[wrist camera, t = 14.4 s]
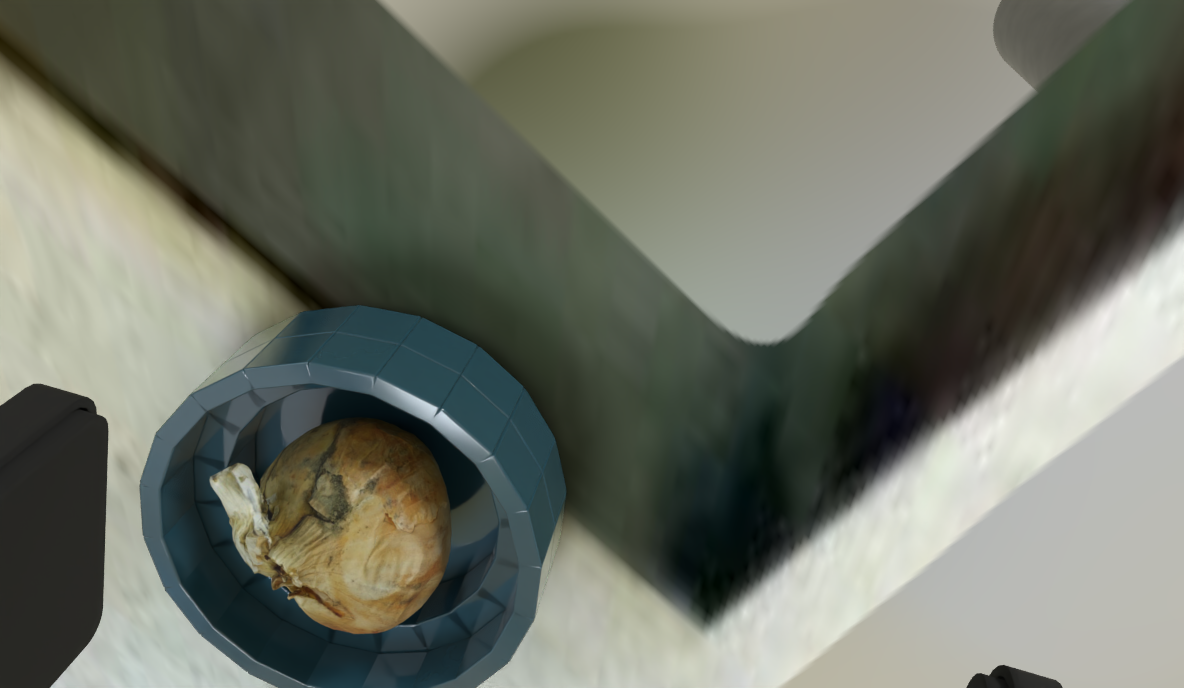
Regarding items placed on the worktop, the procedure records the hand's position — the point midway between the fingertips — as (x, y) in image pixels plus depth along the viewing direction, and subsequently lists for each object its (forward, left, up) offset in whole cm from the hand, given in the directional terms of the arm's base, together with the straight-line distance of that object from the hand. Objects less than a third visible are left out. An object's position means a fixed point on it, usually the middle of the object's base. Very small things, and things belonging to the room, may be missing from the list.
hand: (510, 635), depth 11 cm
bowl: (-2, +19, -26) cm, 32 cm away
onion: (-2, +19, -26) cm, 32 cm away
